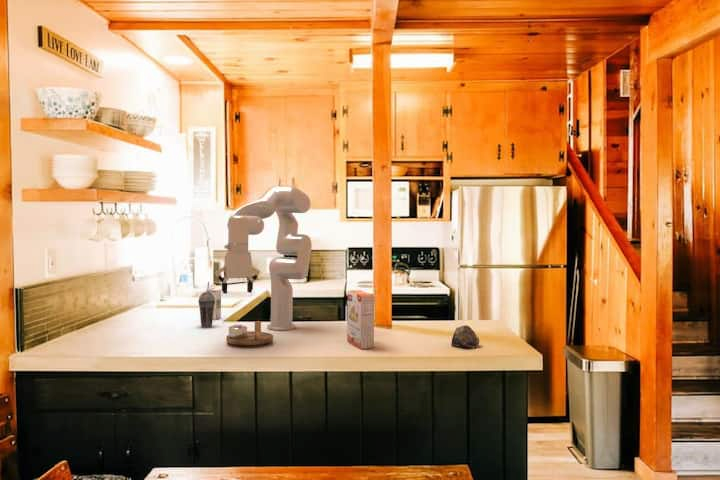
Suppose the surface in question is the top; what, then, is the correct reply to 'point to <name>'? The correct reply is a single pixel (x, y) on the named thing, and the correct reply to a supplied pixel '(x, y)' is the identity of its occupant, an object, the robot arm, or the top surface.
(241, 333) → the cover
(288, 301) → the robot arm
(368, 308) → the cracker box
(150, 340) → the top surface
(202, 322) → the beverage cup
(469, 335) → the dark rock
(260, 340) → the turntable
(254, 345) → the turntable base
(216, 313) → the syrup box
